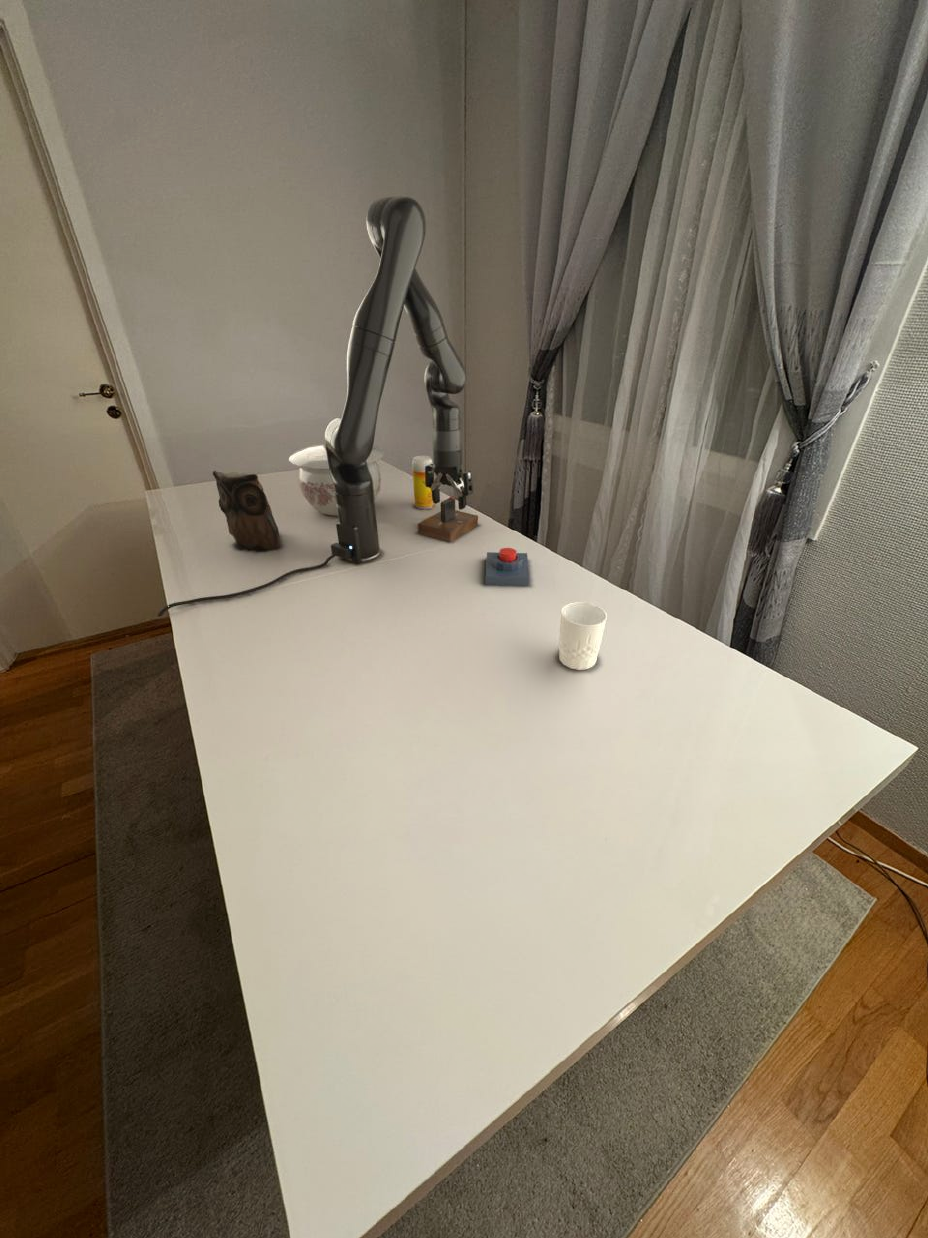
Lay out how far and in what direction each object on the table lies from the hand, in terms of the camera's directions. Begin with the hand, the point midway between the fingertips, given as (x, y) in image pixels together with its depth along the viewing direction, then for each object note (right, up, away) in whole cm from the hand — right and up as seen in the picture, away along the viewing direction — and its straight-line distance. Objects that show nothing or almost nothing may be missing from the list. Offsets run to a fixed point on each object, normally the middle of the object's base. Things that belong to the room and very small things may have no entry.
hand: (449, 505), depth 144 cm
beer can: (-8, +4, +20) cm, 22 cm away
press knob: (+14, -17, -21) cm, 30 cm away
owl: (-51, -11, -3) cm, 52 cm away
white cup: (+25, -39, -48) cm, 66 cm away
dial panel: (0, -6, +4) cm, 7 cm away
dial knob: (0, -3, +2) cm, 4 cm away
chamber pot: (-33, +3, +18) cm, 38 cm away
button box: (+14, -20, -19) cm, 31 cm away
